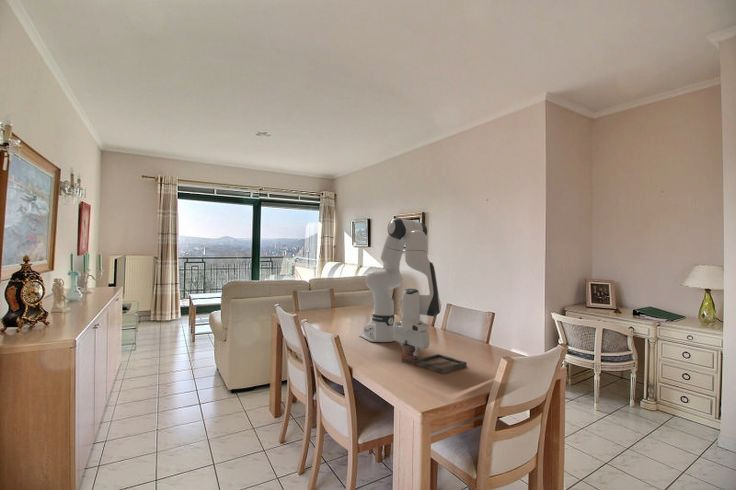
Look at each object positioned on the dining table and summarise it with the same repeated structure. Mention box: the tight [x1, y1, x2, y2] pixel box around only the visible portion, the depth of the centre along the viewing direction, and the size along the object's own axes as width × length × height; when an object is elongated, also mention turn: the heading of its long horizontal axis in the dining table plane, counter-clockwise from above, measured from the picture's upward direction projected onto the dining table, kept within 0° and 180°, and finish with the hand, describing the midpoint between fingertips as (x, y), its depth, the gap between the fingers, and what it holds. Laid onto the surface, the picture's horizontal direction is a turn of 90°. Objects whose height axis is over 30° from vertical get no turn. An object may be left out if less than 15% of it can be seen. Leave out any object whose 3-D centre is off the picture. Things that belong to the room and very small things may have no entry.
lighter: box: [401, 340, 419, 363], centre depth 163 cm, size 8×3×10 cm, turn 105°
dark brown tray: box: [414, 353, 467, 375], centre depth 157 cm, size 16×16×2 cm
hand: (410, 354), depth 163 cm, fingers open, 5 cm apart
